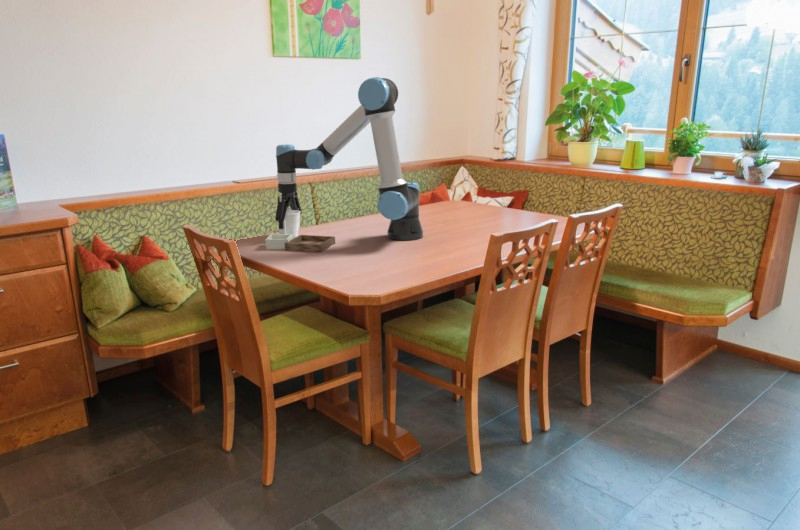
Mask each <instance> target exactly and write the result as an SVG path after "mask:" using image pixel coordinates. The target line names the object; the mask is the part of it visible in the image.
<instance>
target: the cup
mask: <svg viewBox="0 0 800 530" xmlns="http://www.w3.org/2000/svg"><path fill="white" fill-rule="evenodd" d="M300 213H301V214H302V210H301V211H299V210H292V209H287V211H286V215H285V218H284V221H285V226H286V234H293V239H294V238H295V237H297V236H299V230H298V227H299V222H300V219H301V218H300V217H301V214H300Z"/></svg>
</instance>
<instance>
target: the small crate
mask: <svg viewBox="0 0 800 530" xmlns="http://www.w3.org/2000/svg"><path fill="white" fill-rule="evenodd" d="M292 239H293V234H279V233H278V234H275V233H274V234H272V233H271V234H269V235H268V236H267V237H266V238H265V239H264V240H265V241H264V242H265V249H266V250H267V251H268V250H285V243H286V242H289V241H290V240H292Z"/></svg>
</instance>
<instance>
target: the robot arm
mask: <svg viewBox="0 0 800 530" xmlns="http://www.w3.org/2000/svg"><path fill="white" fill-rule="evenodd" d="M357 97H358V101H359V104H360V106H358V108H356V109H355V110H354V111H353V112H352V113H351V114H350V115H349V116H348V117H346V119H345V120H344V121H343V122H341V124H340V125H339V126H337V128H336V129H335V130H333V131H332V133H330V135H328V136H327V137H326V138H325V139H324V140H323V141H322V142H321V143H320V144H319V145H318V146H317V147H316V148H312V149H300V150H299V149H296V148H295V145H294V144H287V143H285V144H278V145H277V146H276V147H275V153H276V154H275V157H276V158H275V159H276V168H277V171H276V173H277V174H276V177H277V182H278V184H277V191H278V193H280V194H281V196H280V195H279V196H277V206H276V210H275V211H276V212H275V218H274V219H275V221H276V222H278V223H277V224H278V234H286V226H285V221H284V218H285V215H286V211H287V210H288V208H289V207H290V210H299V211H301V213H300V215H302V207H301V204H300V199H299V197H298V196H299V195H298V192H297V190H298V189H297V183H296V182H297V172H296V170H298V169H303V170H321V169H322V168H323V166H327V165H328V164H330V163H331V162H332V160H334V159H333V158H334V157H335V156H336V155H337V154H338V153H339V152H341V150H342V149H344V148H345V147H346V145H348V144H349V143H350V142H351V141H352V140H354V138H355V137H356V136H357V135H359V133H361V132H362V131H363V130H364V129H365V128H366V127H367V126H368V125H370V127H371V132H372V133H371V134H372V138H373V144H374V149H375V155H376V160H377V167H378V172H379V178H380V183H379V185H377V186H378V187H377V188H378V189H377V190H378V195H379V196H378V198H377V209H378V211H379V213H380V214H381V215H382V216H383V218H386V219H387V220H390V222H389V225H388V228H387V235H386V236H387V238H389V239H392V240H395V241H397V240H398V241H412V240H418V239H421V238H423V237H424V229H423V227H422V224H421V221H420V220H421V219H420V186H419V183H418V182H408V181H406V180H405V179H404V177H403V172H402V167H401V161H400V156H399V150H398V144H397V143H398V142H397V138H396V131H395V126H394V125H395V124H394V119H393V115H394V114H395V113H396V108H395V104H396V103H397V101H398V99H399V98H398V97H399V89H398V87H397V85H396V83H395V82H394V81H393V80H391V79H390V78H386V77H378V76H376V77H375V76H374V77H370V78H369V77H368V78H366V80H364V81H363V82H362V83H361V84H360V85H359V88H358V92H357ZM300 229H301V227H300V221H299V227H298V231H299V230H300Z"/></svg>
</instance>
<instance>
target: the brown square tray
mask: <svg viewBox="0 0 800 530" xmlns="http://www.w3.org/2000/svg"><path fill="white" fill-rule="evenodd" d="M335 244H336V236H332V235H331V236H330V235H311V234H310V235H309V234H298V236H297V237H295V238H294V239H292V240H290V241H289V242H286V243H285V249H284V251H296V252H308V253H309V252H311V253H322V252H324V251H325V250H327V249H328V248H330V247H332V246H334V245H335Z"/></svg>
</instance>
